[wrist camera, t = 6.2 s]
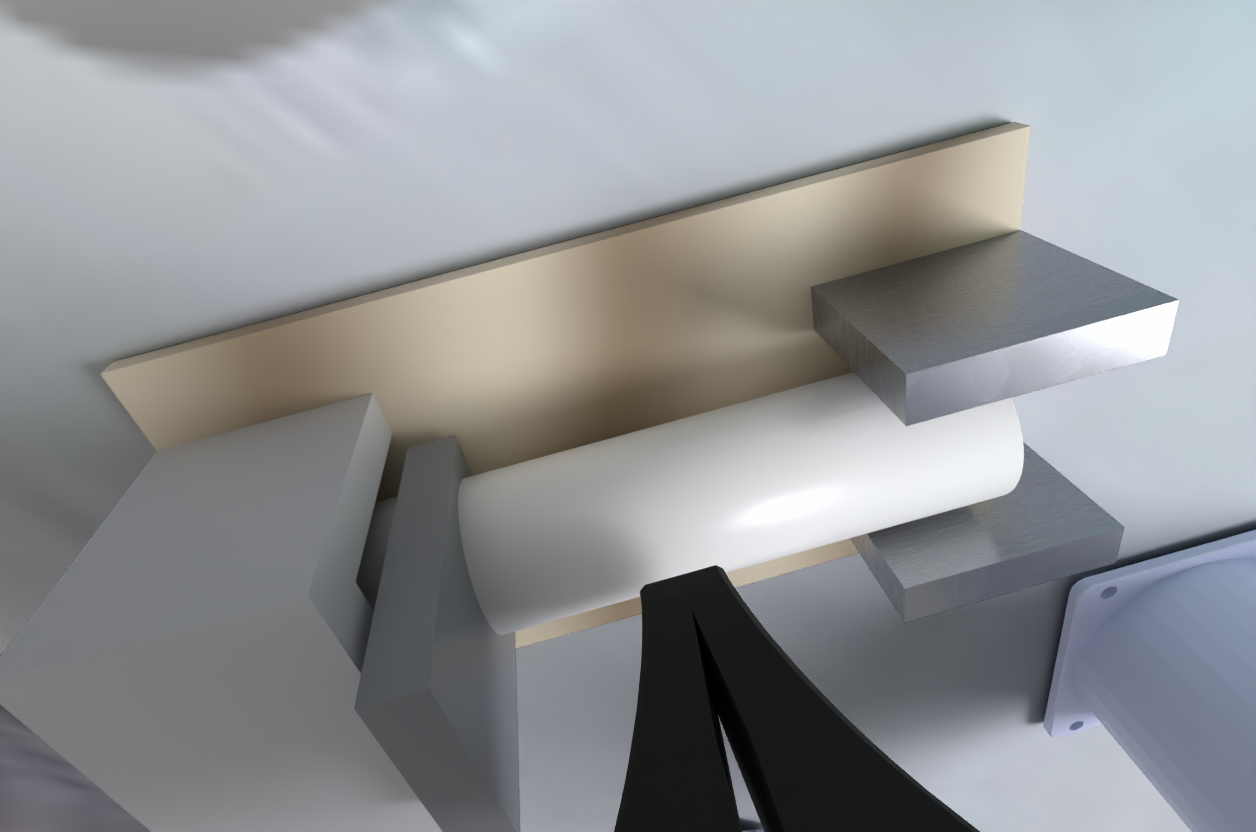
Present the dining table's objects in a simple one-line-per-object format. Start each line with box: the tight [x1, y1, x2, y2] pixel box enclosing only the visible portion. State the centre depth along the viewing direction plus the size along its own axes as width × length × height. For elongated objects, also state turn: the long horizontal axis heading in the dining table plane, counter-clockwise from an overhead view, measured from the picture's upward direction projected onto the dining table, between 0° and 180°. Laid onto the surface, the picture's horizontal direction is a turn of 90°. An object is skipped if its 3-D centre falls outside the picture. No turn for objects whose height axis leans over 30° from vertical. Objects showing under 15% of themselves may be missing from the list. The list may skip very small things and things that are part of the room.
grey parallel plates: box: [811, 230, 1179, 622], centre depth 14 cm, size 4×6×4 cm
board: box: [100, 122, 1031, 649], centre depth 16 cm, size 18×10×1 cm, turn 102°
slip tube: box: [354, 372, 1024, 832], centre depth 13 cm, size 14×4×6 cm, turn 102°
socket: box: [0, 393, 442, 832], centre depth 13 cm, size 4×6×6 cm
